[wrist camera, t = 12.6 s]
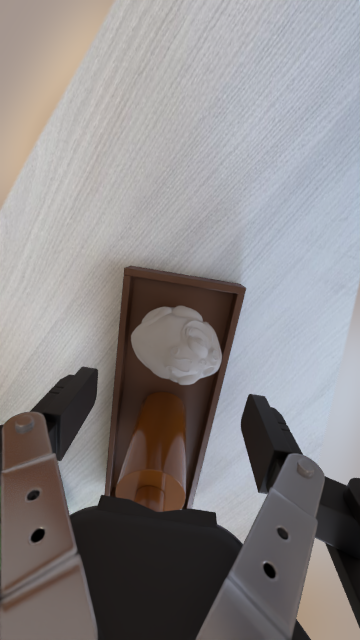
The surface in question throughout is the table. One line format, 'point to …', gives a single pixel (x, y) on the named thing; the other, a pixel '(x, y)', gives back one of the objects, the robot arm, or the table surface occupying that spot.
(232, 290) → the tray
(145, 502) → the amber bottle
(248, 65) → the table surface
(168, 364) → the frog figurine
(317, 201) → the table surface
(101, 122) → the table surface
